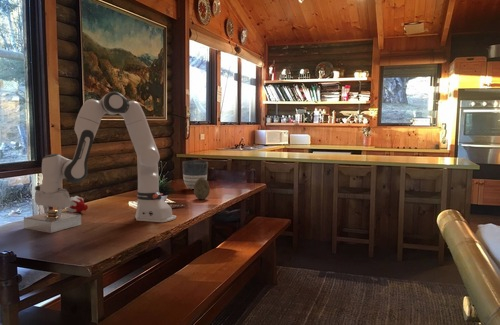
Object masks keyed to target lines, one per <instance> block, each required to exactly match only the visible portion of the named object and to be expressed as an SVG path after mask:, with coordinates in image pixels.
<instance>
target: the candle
mask: <svg viewBox="0 0 500 325" xmlns="http://www.w3.org/2000/svg"><path fill="white" fill-rule="evenodd" d="M70 204H71V205H70V207H69V208H65V209H66V212H67V211H68V212H69V213H76V214H80V213H81V212H84V211H85V212H86V211H87V210H88V205H87V204H85V201H84V198H83V197H80V196H78V195H74V196H71V197H70Z"/></svg>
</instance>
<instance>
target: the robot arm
mask: <svg viewBox="0 0 500 325" xmlns="http://www.w3.org/2000/svg"><path fill="white" fill-rule="evenodd" d="M117 114H119V115H120V116H121V117H122V118H123V120H124V123H125V126H126V129H127V132H128V135H129V138H130V140H131V144H132V146H133V149H134V151H135V153H136V156H137V158H136V159H137V161H136V163H137V164H136V165H137V166H136V167H137V192H136V199H137V205H136V212H135V216H134V218H135V219H136V220H135V221H139V222H150V223H151V222H152V223H166V222H167V223H168V222H170V221H173V220H175V219H176V220H177V215H174V214H173V209H172V207H171V205H169V204H168V203H167V202H166V201H165V200H164V199H163V198H162V196H163V195H164V193H162V192H160V189H159V188H160V184H159V183H160V179H159V178H160V176H159V162H160V159H161V158H160V152H159V149H158V147H157V145H156V142H155V139H154V136H153V134H152V131H151V129H150V125H149V122H148V120H147V117H146V114H145V112H144V110H143V108H142V106H141V104H140V103H139V102H138V101H135V100H128V98H126V97H125V96H124V95H123V94H122V93H120V92H118V91H110V92H108V93H106V94H105V95H103V96H102V97H101V98H100V99H99V100H97V99H93V98H91V99H89V98H88V99H86V100H85V101H84V103H83V104H82V106H81V107H80V109H79V111H78V114H77V117H76V120H75V123H74V133H75V134H76V137H77V144H76V145H77V146H76V148H75V151H74V152H75V153H74V154H73V158H72V159H69V158H68V157H64V156H63V155H60V153H51V154H47V155H45V156H44V157H42V160H41V161H42V162H41V176H42V181H41V184H38V185H35V186H34V191H35V192H34V202H35V204H36V205H38V206H43V210H44V213H45V214H46V215H48V210H50V209H49V207H50V208H51V207H52V208H56V210H58V211H57V213H56V216H58V217H59V216H61V212H63V210H64V209H66V208H69V207H70V205H71V204H70V198H71V197H70V194H69V193H70V192H69V191H68V190H67V188H63V179H66V180H67V181H68V182H70V183H72V184H78V183H81V182H83V181H85V179H86V178H87V176H88V160H89V157H90V154H91V150H92V145H93V142H94V139H95V137H96V134H97V132H98V130H99V127H100V125H101V121H102V119H103V117H104V115H105V116H114V115H117Z"/></svg>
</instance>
